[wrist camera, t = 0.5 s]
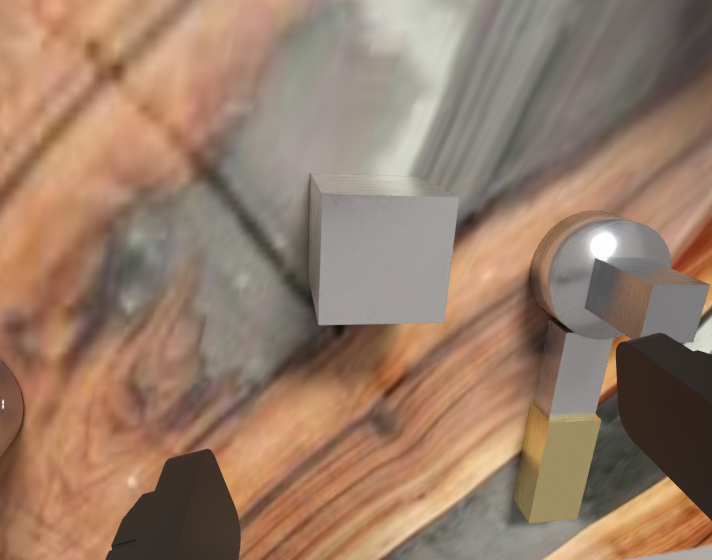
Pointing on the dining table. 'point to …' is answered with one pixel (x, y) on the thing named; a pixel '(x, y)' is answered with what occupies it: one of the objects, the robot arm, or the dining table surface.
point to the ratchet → (591, 343)
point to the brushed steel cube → (379, 248)
